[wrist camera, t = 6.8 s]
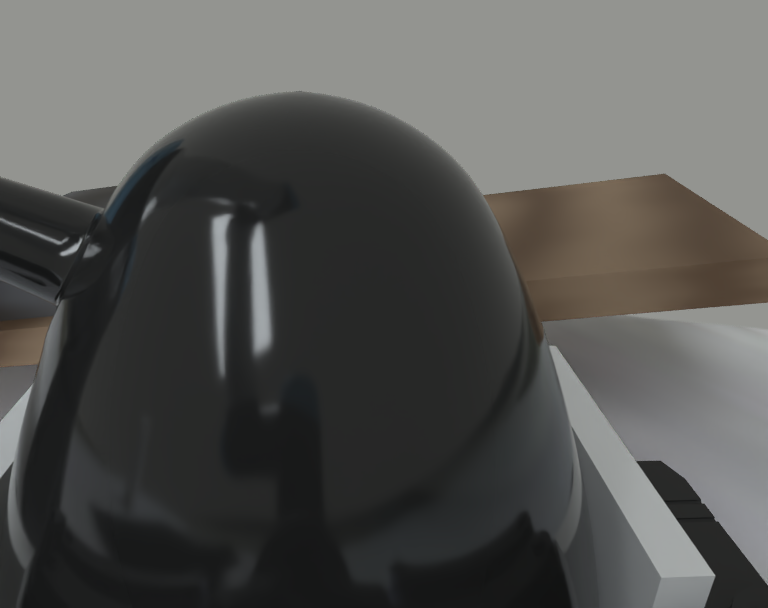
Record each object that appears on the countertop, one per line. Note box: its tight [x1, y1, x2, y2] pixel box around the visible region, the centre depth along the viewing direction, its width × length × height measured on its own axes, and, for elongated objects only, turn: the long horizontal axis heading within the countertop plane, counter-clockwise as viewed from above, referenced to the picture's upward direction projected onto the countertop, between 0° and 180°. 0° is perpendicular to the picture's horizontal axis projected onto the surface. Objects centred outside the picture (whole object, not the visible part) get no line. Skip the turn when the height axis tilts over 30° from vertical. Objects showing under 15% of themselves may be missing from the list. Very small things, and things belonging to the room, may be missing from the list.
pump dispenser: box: [0, 91, 599, 608], centre depth 10 cm, size 10×10×15 cm
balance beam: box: [0, 174, 768, 367], centre depth 26 cm, size 30×12×4 cm, turn 84°
